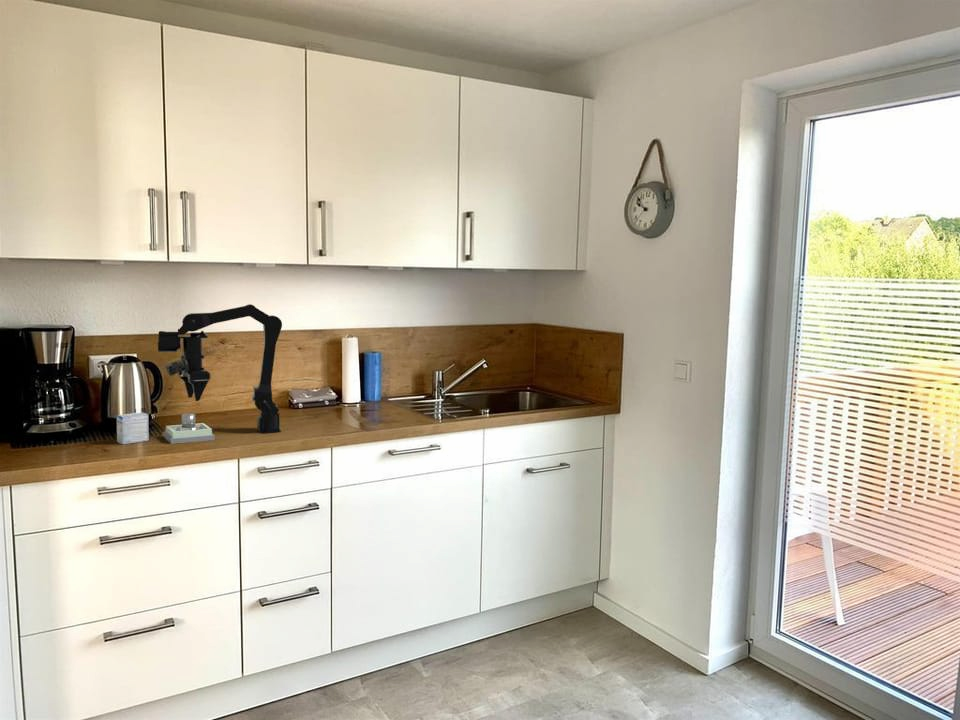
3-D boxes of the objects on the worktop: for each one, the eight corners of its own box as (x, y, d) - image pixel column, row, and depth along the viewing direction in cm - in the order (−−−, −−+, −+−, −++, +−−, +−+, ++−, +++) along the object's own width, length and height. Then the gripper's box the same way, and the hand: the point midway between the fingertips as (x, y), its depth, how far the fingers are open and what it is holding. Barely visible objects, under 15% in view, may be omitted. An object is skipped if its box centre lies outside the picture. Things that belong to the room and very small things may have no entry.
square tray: (205, 432, 236) (205, 422, 235) (214, 439, 225) (214, 429, 225) (163, 436, 228) (163, 425, 228) (171, 443, 218) (170, 432, 217)
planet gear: (198, 430, 232) (197, 412, 231) (203, 433, 226) (203, 415, 225) (174, 431, 227) (174, 413, 227) (178, 435, 221) (178, 417, 221)
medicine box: (142, 439, 224) (141, 412, 223) (149, 441, 221) (148, 413, 220) (116, 442, 218) (116, 415, 217) (123, 444, 215) (122, 416, 214)
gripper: (159, 350, 233) (161, 397, 234) (173, 355, 218) (174, 404, 219) (195, 349, 239) (196, 394, 241) (210, 353, 224) (211, 402, 226)
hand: (193, 399), depth 232 cm, fingers open, 9 cm apart
